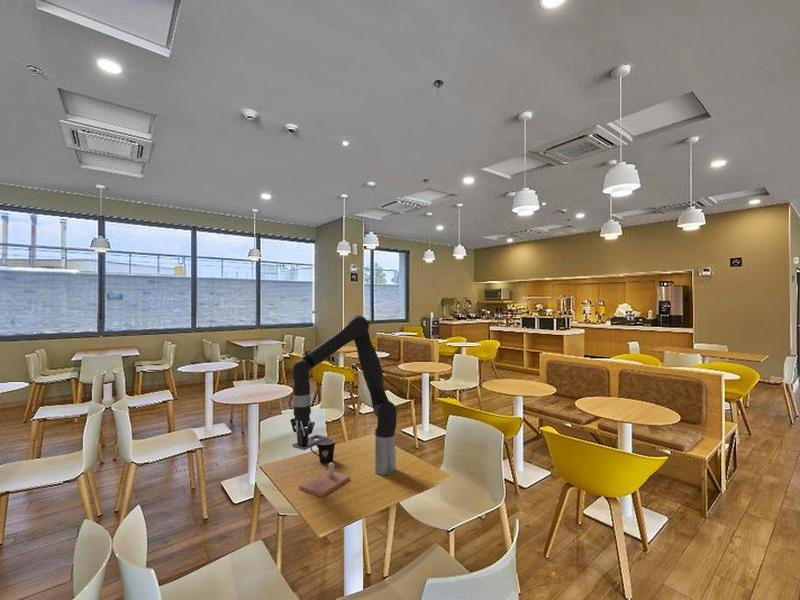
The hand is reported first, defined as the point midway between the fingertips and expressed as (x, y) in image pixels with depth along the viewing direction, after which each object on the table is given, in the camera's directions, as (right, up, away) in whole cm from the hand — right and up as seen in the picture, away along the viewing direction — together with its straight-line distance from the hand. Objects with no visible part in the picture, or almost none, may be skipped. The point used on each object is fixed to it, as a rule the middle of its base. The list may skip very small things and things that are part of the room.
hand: (302, 442), depth 166 cm
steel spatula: (+3, -2, +4) cm, 5 cm away
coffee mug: (+5, -17, +20) cm, 27 cm away
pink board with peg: (+11, -17, -4) cm, 20 cm away
